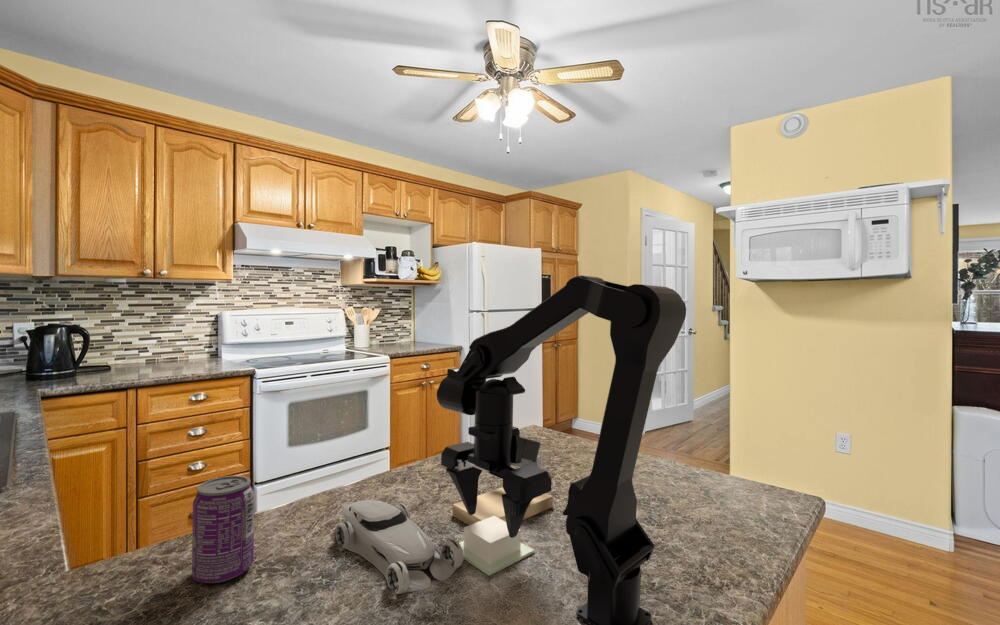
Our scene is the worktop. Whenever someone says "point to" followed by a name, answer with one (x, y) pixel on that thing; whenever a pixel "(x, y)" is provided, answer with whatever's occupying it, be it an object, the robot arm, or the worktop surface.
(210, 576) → the beverage can
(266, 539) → the worktop surface
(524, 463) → the lever handle
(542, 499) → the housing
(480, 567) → the pad
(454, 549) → the car model
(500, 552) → the cover
